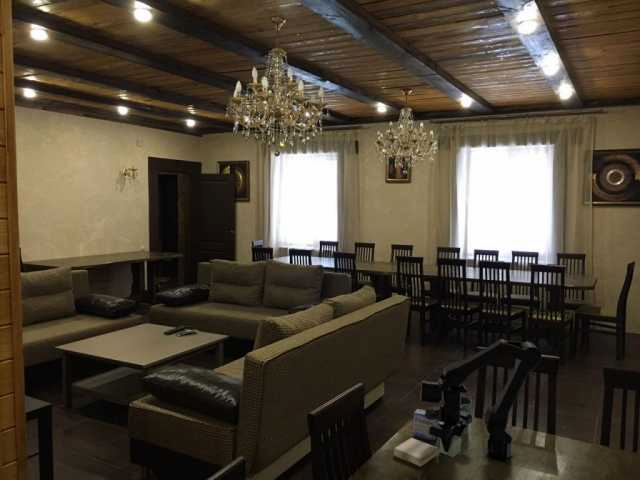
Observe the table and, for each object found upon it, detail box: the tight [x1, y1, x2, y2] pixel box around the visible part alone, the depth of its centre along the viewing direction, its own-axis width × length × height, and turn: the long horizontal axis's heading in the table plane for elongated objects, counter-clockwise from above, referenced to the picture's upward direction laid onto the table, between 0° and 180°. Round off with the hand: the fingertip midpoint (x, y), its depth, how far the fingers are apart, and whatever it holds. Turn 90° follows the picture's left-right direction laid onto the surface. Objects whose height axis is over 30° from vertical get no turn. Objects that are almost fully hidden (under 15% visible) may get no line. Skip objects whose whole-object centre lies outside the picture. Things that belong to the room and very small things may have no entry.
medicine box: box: [412, 408, 439, 441], centre depth 188 cm, size 8×4×9 cm, turn 62°
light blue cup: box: [451, 394, 473, 438], centre depth 192 cm, size 10×10×12 cm
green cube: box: [439, 435, 462, 458], centre depth 177 cm, size 5×5×5 cm
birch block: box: [393, 437, 438, 467], centre depth 175 cm, size 10×10×3 cm
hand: (450, 448), depth 177 cm, fingers closed on green cube, 5 cm apart
